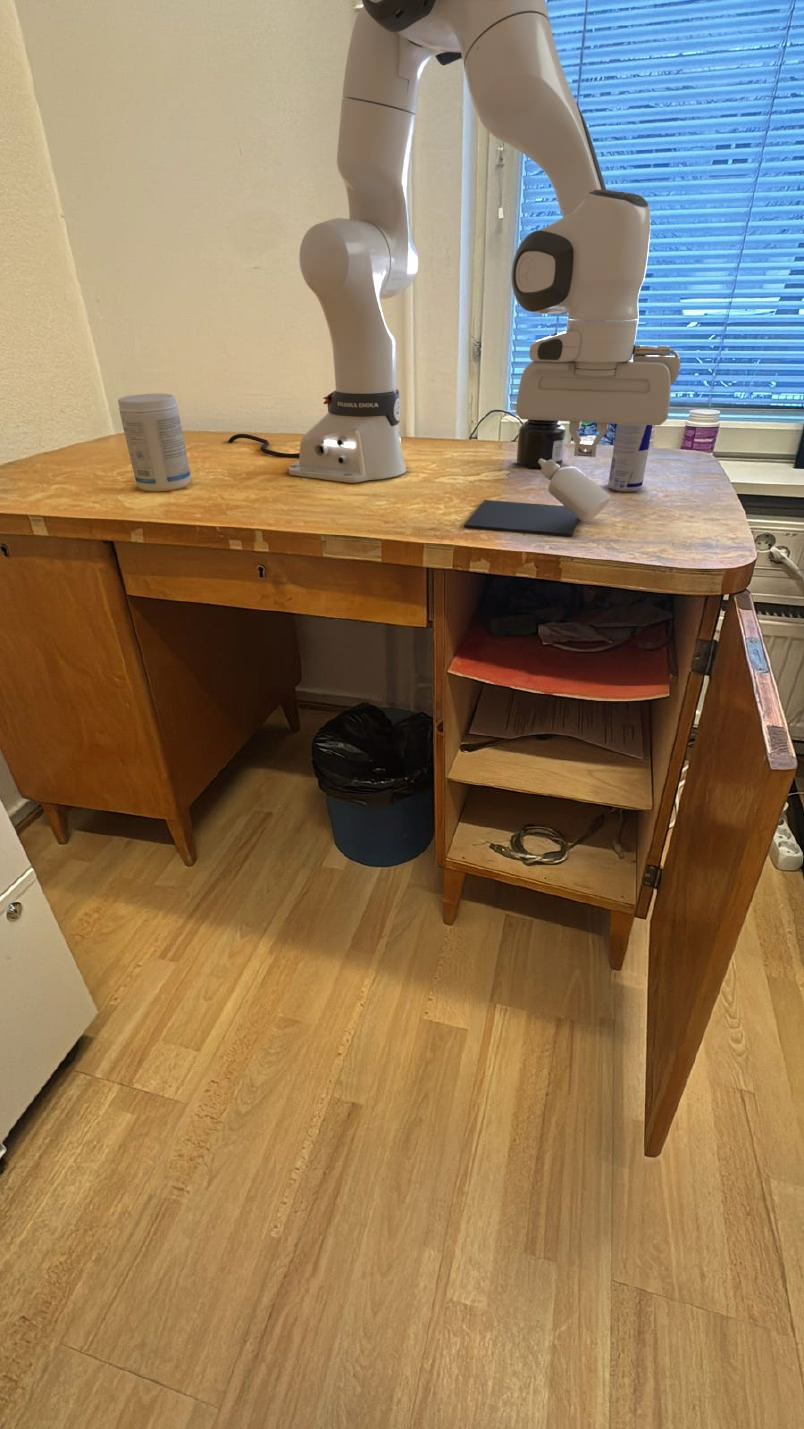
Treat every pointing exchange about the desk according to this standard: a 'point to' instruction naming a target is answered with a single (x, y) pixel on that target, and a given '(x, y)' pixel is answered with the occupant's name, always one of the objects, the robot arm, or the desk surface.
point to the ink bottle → (540, 442)
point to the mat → (523, 518)
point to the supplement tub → (155, 441)
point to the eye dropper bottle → (574, 490)
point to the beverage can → (629, 457)
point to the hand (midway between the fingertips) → (584, 456)
